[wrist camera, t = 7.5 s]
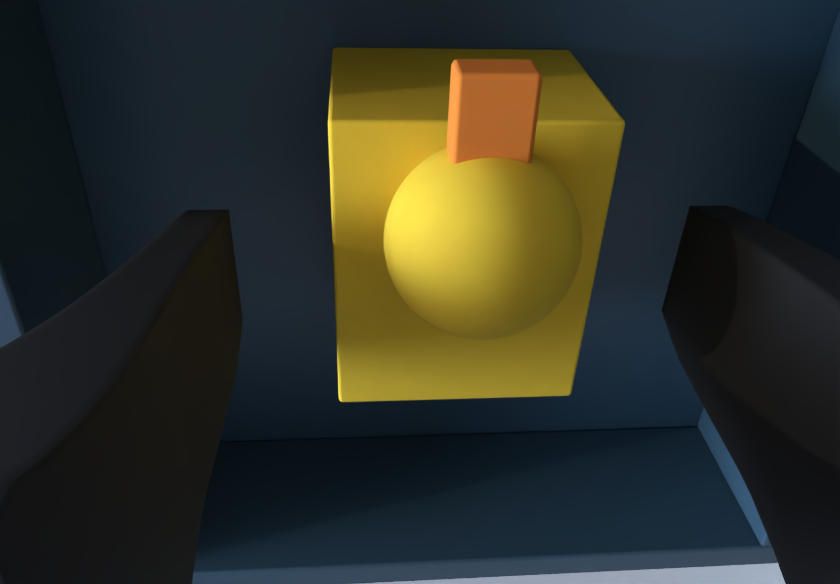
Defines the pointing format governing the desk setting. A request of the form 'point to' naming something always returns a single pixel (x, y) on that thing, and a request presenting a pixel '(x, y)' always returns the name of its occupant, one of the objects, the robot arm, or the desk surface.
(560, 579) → the desk surface
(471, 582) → the desk surface
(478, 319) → the rubber duck
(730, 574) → the desk surface
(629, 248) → the blue square tray
